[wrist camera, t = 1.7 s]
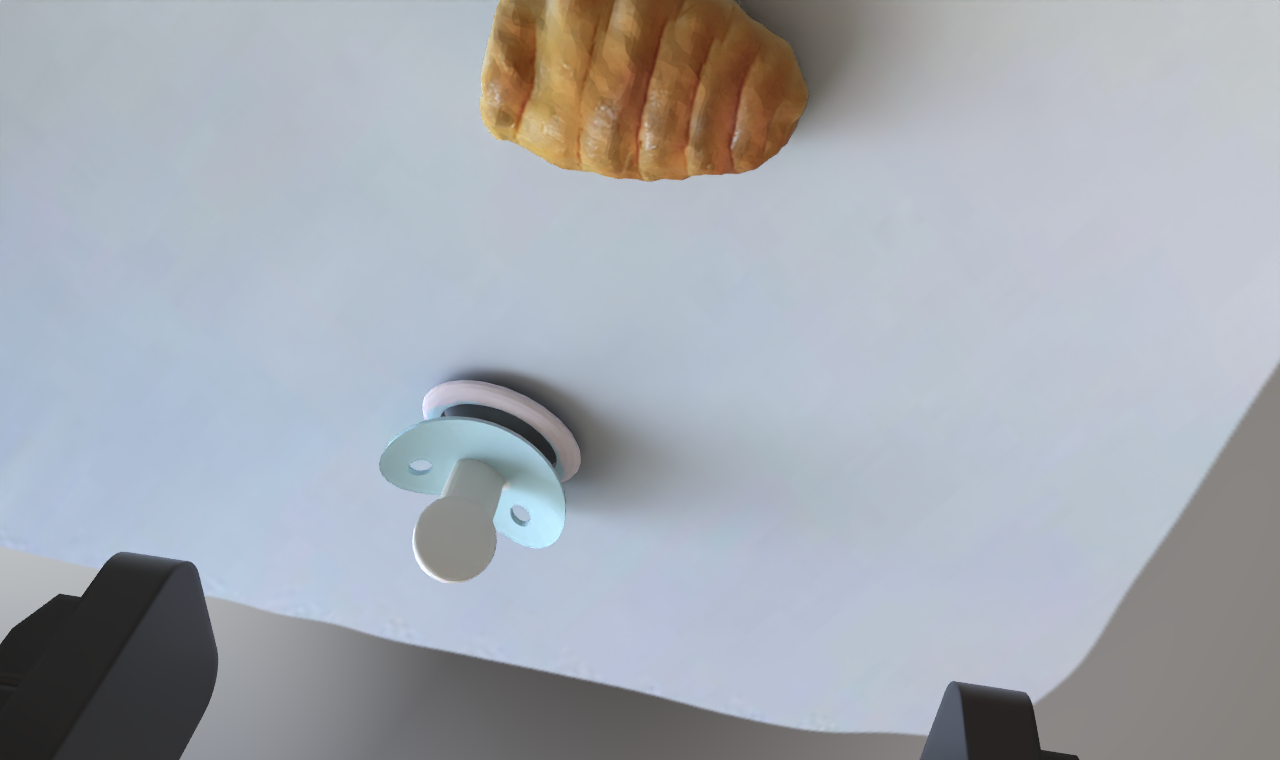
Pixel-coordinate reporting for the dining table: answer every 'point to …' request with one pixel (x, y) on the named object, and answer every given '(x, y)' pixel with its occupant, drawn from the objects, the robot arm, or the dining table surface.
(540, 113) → the pastry
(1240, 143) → the dining table surface
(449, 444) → the pacifier
